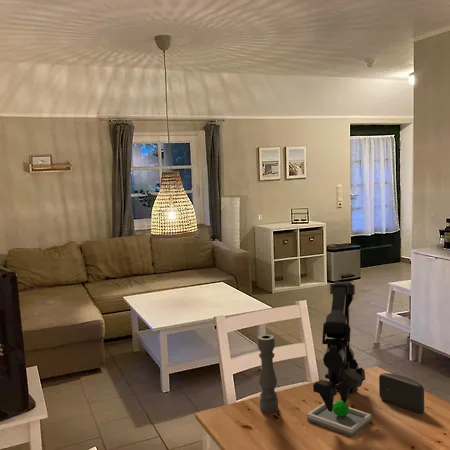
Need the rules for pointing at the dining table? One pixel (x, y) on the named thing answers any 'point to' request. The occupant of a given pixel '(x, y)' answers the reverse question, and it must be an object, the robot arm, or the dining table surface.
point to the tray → (339, 419)
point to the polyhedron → (340, 408)
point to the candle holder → (267, 374)
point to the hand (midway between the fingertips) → (337, 407)
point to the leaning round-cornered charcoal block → (402, 391)
